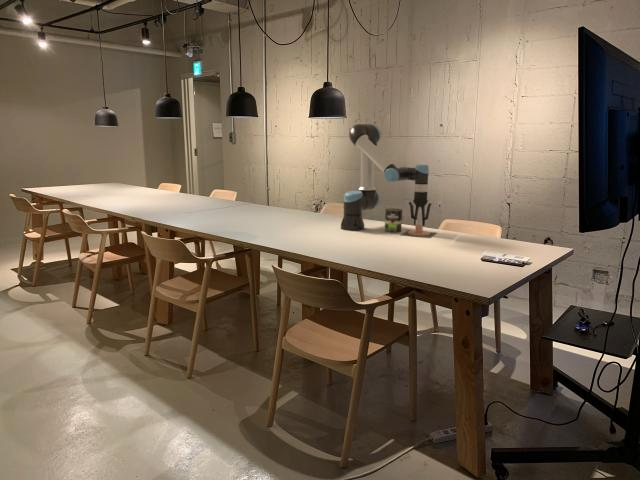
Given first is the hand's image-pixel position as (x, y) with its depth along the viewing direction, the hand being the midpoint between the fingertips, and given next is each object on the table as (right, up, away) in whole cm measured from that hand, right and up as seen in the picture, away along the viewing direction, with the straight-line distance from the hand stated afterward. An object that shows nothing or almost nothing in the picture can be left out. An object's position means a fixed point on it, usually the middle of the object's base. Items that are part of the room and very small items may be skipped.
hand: (419, 230), depth 283 cm
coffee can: (-14, -1, +7) cm, 16 cm away
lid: (0, -2, 0) cm, 2 cm away
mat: (0, -2, +1) cm, 3 cm away
